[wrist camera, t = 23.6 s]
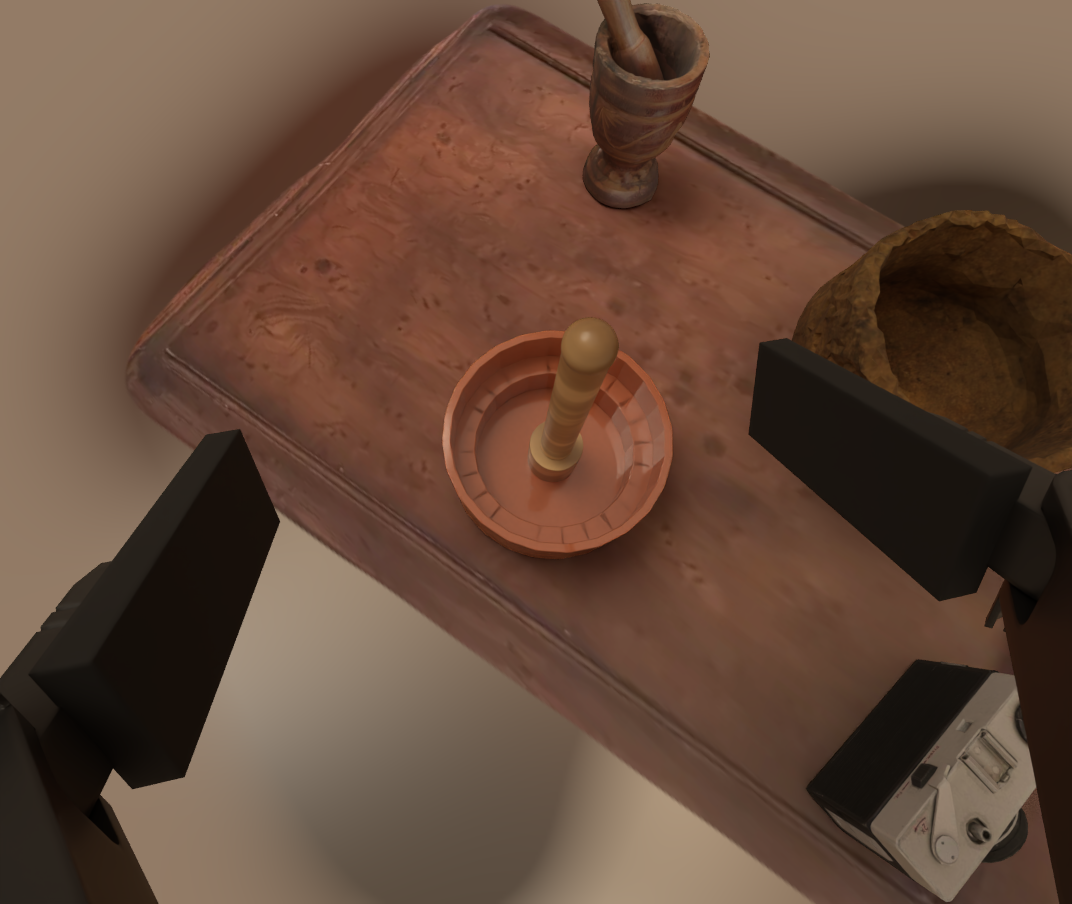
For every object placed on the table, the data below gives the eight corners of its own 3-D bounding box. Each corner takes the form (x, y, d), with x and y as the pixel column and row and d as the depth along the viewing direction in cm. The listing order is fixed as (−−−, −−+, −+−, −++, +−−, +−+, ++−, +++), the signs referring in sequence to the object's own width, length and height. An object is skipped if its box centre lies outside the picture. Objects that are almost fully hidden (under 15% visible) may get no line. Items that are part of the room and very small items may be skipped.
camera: (872, 887, 37) (996, 980, 28) (786, 765, 39) (873, 811, 30) (1004, 762, 40) (1158, 807, 30) (917, 654, 42) (1036, 664, 32)
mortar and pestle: (540, 206, 51) (561, -33, 31) (546, 133, 53) (569, -131, 34) (660, 218, 51) (754, -10, 32) (661, 145, 53) (749, -109, 34)
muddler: (550, 492, 43) (592, 394, 22) (517, 455, 43) (528, 327, 23) (586, 460, 44) (659, 338, 23) (553, 425, 44) (596, 275, 24)
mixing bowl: (542, 603, 41) (550, 604, 34) (411, 449, 44) (394, 422, 37) (687, 469, 45) (719, 447, 38) (557, 335, 47) (566, 291, 41)
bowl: (718, 464, 45) (819, 401, 31) (779, 285, 50) (890, 159, 35) (932, 554, 44) (1140, 533, 30) (972, 363, 49) (1167, 265, 35)
